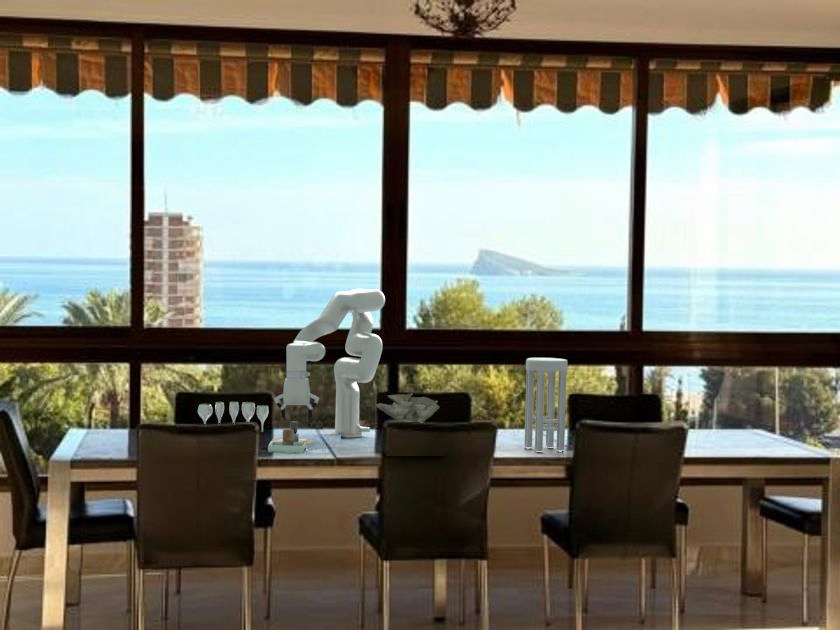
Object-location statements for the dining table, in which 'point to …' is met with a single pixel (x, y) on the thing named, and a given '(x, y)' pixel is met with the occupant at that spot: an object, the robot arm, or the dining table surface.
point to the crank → (294, 427)
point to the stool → (551, 367)
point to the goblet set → (234, 411)
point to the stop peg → (288, 437)
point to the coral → (409, 408)
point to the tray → (286, 447)
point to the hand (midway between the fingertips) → (296, 419)
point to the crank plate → (299, 440)
